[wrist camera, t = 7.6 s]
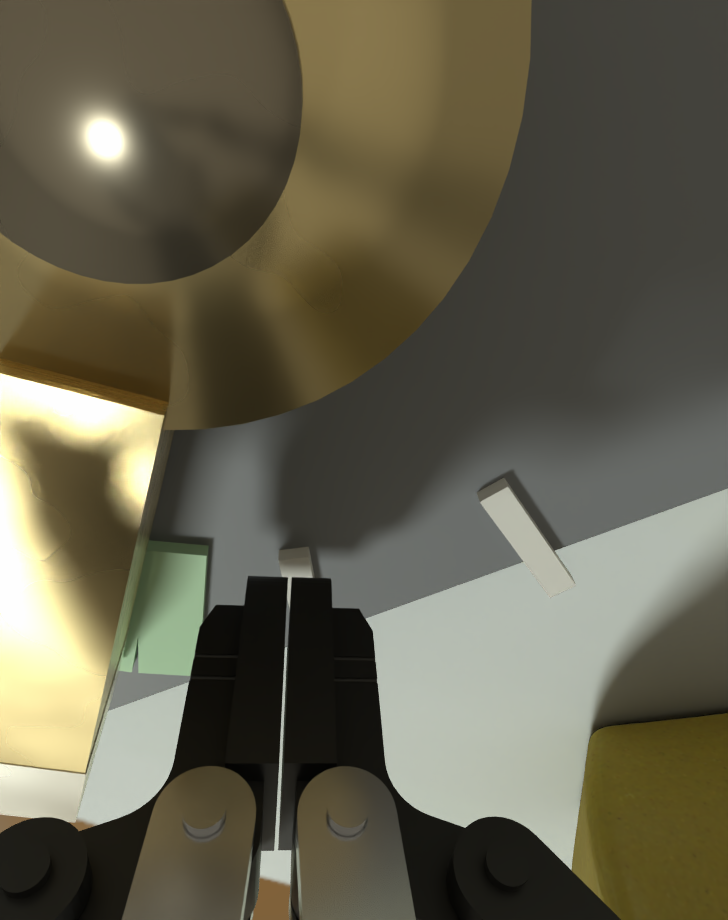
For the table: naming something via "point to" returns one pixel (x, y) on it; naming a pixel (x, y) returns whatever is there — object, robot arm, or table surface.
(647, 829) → the flower pot
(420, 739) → the table surface
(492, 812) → the table surface
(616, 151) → the board
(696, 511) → the table surface
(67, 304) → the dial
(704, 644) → the table surface
